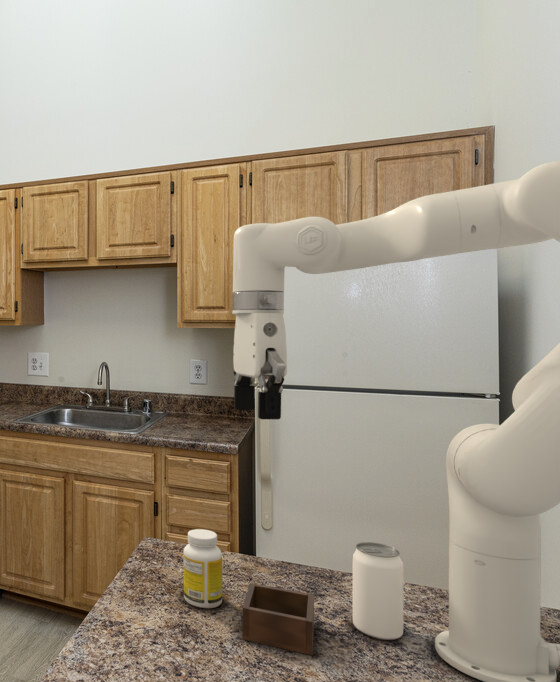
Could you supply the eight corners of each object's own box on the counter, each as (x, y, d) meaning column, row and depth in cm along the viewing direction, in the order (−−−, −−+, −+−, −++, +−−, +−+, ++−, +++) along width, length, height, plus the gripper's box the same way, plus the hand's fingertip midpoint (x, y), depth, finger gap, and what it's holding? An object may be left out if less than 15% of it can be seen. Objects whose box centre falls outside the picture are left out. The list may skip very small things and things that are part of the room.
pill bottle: (218, 592, 95) (218, 527, 95) (226, 610, 89) (226, 541, 89) (181, 591, 96) (180, 526, 95) (186, 608, 89) (186, 539, 89)
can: (411, 643, 79) (411, 559, 79) (361, 639, 80) (361, 555, 80) (392, 620, 85) (392, 542, 85) (346, 616, 87) (346, 539, 87)
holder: (313, 624, 84) (313, 594, 84) (312, 655, 76) (312, 621, 76) (250, 611, 88) (250, 582, 88) (242, 639, 80) (242, 607, 80)
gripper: (309, 302, 79) (306, 423, 79) (258, 307, 96) (257, 406, 96) (256, 301, 79) (254, 423, 79) (215, 307, 96) (214, 406, 96)
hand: (256, 414), depth 88 cm, fingers open, 9 cm apart
